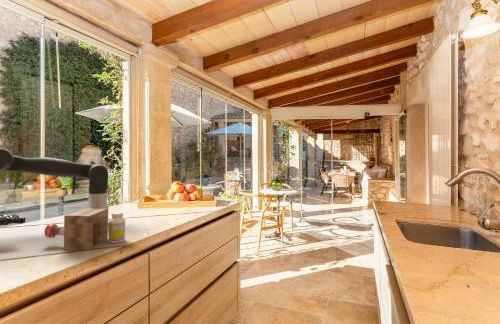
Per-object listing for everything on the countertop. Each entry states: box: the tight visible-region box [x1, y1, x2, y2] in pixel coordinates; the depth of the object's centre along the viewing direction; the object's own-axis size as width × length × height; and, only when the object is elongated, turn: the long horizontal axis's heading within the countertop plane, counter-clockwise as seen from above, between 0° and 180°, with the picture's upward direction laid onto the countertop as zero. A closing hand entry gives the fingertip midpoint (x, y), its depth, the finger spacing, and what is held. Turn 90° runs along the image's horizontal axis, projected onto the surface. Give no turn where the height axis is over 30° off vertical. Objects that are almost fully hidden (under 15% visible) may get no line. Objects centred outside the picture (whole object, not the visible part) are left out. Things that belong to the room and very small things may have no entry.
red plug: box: [44, 223, 64, 239], centre depth 120 cm, size 14×6×6 cm, turn 92°
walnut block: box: [63, 207, 109, 251], centre depth 122 cm, size 12×16×14 cm
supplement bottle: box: [108, 211, 126, 244], centre depth 127 cm, size 7×7×13 cm
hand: (24, 220), depth 119 cm, fingers closed
